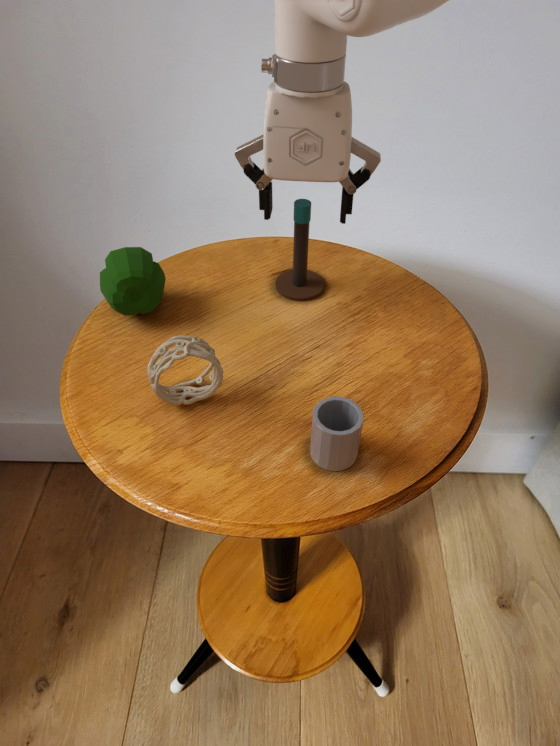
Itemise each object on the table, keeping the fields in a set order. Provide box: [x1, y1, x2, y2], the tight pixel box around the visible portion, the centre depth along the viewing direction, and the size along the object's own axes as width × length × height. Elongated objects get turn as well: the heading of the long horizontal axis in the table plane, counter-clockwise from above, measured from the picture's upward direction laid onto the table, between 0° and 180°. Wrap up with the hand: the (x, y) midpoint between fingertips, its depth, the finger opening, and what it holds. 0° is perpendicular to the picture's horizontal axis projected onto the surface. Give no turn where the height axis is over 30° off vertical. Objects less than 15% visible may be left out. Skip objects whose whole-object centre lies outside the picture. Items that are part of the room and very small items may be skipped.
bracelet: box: [146, 335, 224, 406], centre depth 63 cm, size 4×8×8 cm, turn 112°
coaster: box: [274, 269, 325, 302], centre depth 81 cm, size 7×7×1 cm
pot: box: [309, 396, 365, 472], centre depth 58 cm, size 5×5×6 cm
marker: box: [292, 198, 312, 287], centre depth 76 cm, size 2×2×12 cm
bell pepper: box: [99, 246, 167, 317], centre depth 75 cm, size 8×8×10 cm
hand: (305, 216), depth 73 cm, fingers open, 9 cm apart
